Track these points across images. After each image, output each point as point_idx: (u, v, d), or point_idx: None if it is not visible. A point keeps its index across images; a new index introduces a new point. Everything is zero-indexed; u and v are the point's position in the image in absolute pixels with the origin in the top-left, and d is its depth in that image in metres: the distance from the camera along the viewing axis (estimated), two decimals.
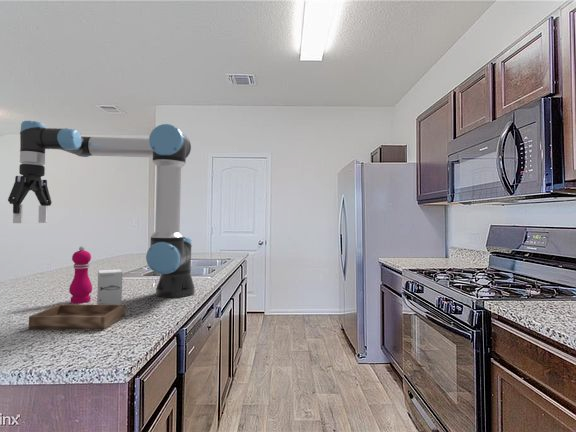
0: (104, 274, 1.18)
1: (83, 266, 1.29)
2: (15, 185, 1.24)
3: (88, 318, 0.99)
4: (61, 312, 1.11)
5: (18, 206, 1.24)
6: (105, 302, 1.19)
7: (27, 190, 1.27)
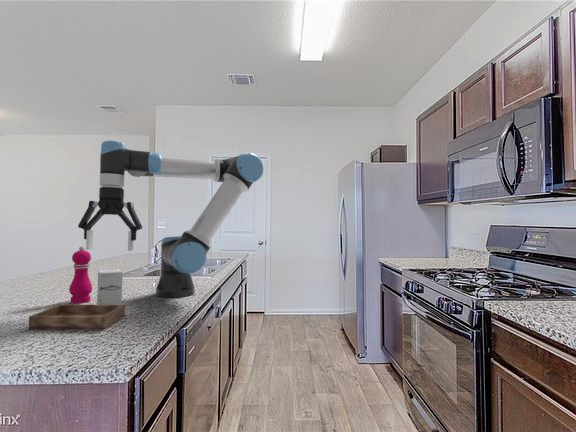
0: (104, 274, 1.18)
1: (83, 266, 1.29)
2: None
3: (88, 318, 0.99)
4: (61, 312, 1.11)
5: (85, 232, 1.21)
6: (105, 302, 1.19)
7: (96, 215, 1.21)
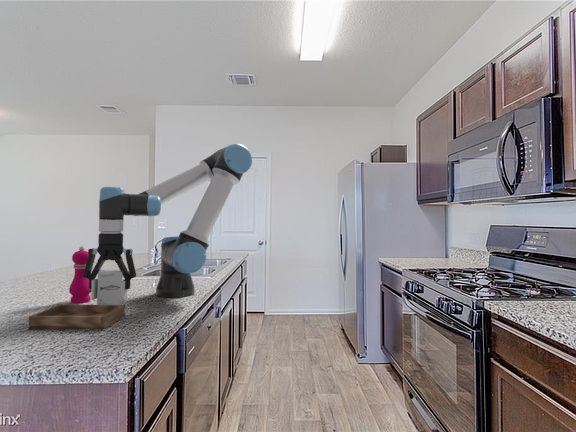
0: (104, 274, 1.18)
1: (83, 266, 1.29)
2: None
3: (88, 318, 0.99)
4: (61, 312, 1.11)
5: (90, 282, 1.21)
6: (105, 302, 1.19)
7: (98, 263, 1.21)
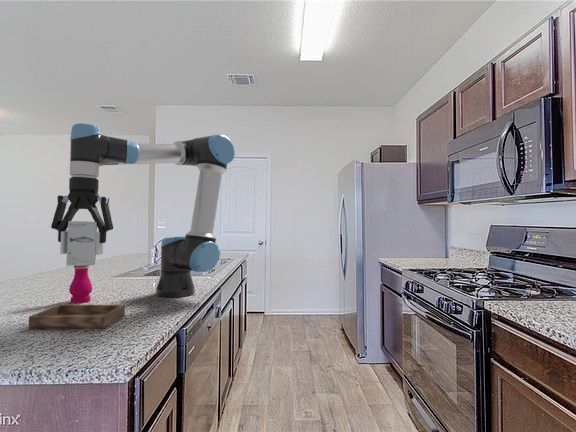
0: (74, 223, 1.02)
1: (83, 266, 1.29)
2: None
3: (88, 318, 0.99)
4: (61, 312, 1.11)
5: (60, 233, 1.05)
6: (76, 256, 1.02)
7: (69, 211, 1.05)
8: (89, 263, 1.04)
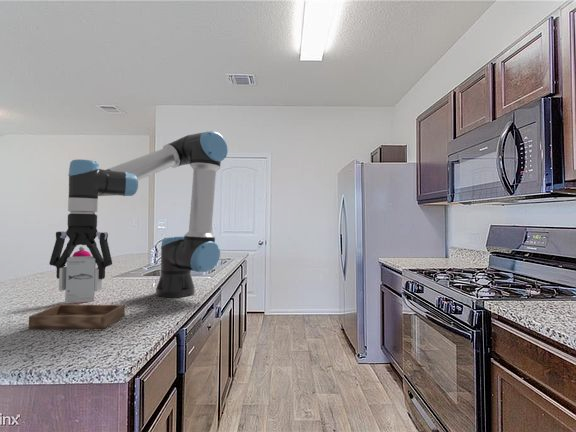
0: (73, 260, 1.01)
1: None
2: None
3: (88, 318, 0.99)
4: (61, 312, 1.11)
5: (58, 270, 1.04)
6: (74, 294, 1.02)
7: (67, 248, 1.04)
8: (88, 300, 1.03)
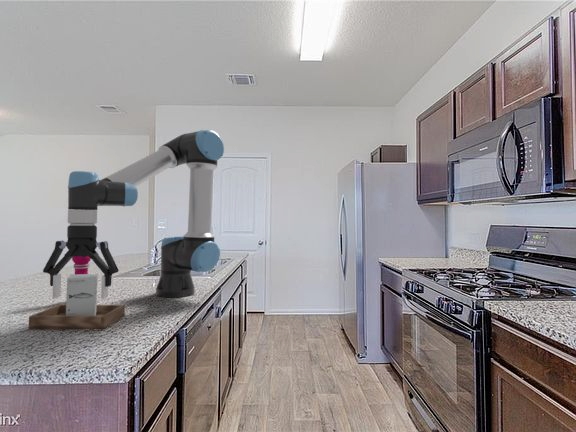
0: (73, 280, 1.02)
1: (83, 266, 1.29)
2: None
3: (88, 318, 0.99)
4: (61, 312, 1.11)
5: (52, 277, 1.04)
6: (75, 313, 1.02)
7: (64, 258, 1.04)
8: None
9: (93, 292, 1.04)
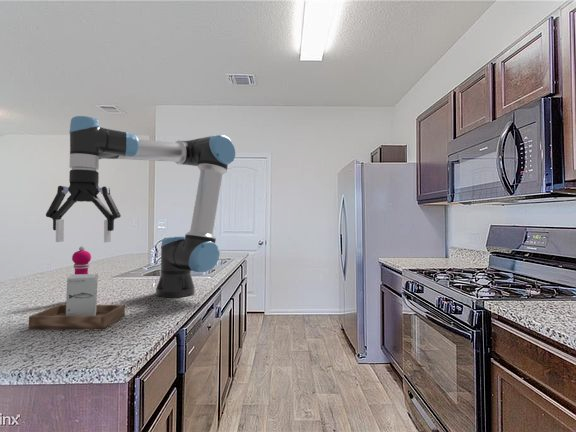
0: (73, 280, 1.02)
1: (83, 266, 1.29)
2: None
3: (88, 318, 0.99)
4: (61, 312, 1.11)
5: (54, 222, 1.06)
6: (75, 313, 1.02)
7: (67, 202, 1.05)
8: None
9: (93, 292, 1.04)
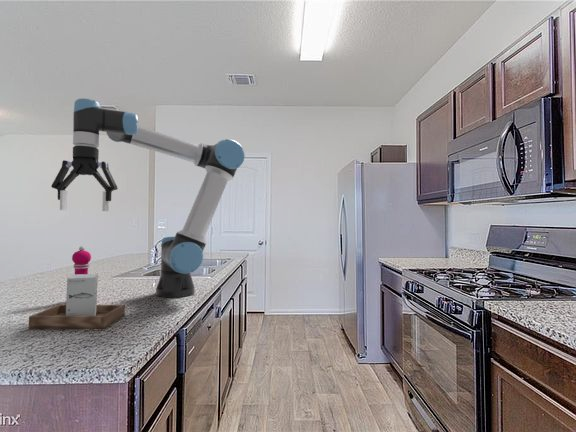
0: (73, 280, 1.02)
1: (83, 266, 1.29)
2: None
3: (88, 318, 0.99)
4: (61, 312, 1.11)
5: (59, 192, 1.19)
6: (75, 313, 1.02)
7: (70, 175, 1.19)
8: None
9: (93, 292, 1.04)
